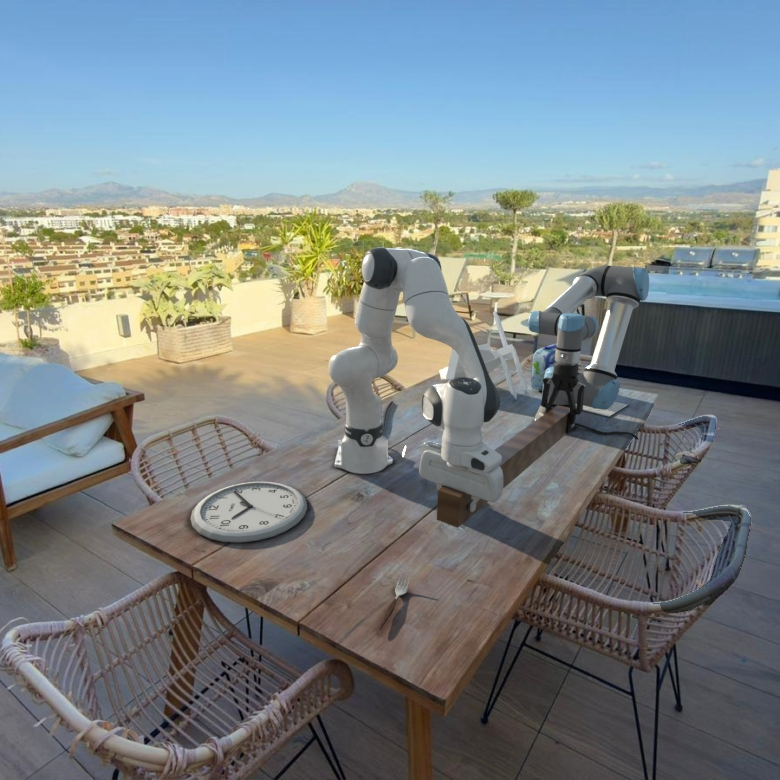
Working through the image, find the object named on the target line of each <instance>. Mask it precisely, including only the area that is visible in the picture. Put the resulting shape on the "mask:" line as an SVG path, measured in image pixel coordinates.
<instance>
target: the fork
mask: <svg viewBox="0 0 780 780" xmlns="http://www.w3.org/2000/svg"><path fill="white" fill-rule="evenodd" d="M402 574H403V572H402V571H401V573H400V575H399V577H398V581H397V584H396V586H395V588H394V593H395V597H394V599H393V600H392V601H391V602H390V604H389V605H388V607H387V609H386V611H385V614H384V615H383V618H382V620H381V621H382V622H381V624H380V626H379V631H381V629H382V628H383V627H384V625H385V623H386V622H387V621H388V619H389V618H390V617H391V615H392V613H393V611H394V610H395V606H396V603H397V601H398V598H399V597H400V596H403V595H406V594H407V592H408V590H409V586H410V582H411V578H412V575H410V576H409V574H407V575H406V573H404V574H403V577H402ZM405 575H406V578H405ZM408 576H409V579H408ZM401 578H402V579H401Z"/></svg>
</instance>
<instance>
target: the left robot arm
mask: <svg viewBox="0 0 780 780" xmlns="http://www.w3.org/2000/svg"><path fill="white" fill-rule="evenodd" d="M442 269H443V268H442V264H441V261H440V259H439V257H437V256H436V255H434V254H432V253H430V252H427V251H419V250H416V249H410V248H392V247H391V248H386V247H384V246H381V247H373V248H370V249H368V250H367V251H366V253H365V254H364V255H363V257H362V260H361V266H360V273H361V278H362V280H363V284H362V286H361V290H360V293H359V299H358V303H357V307H356V312H355V317H354V327H355V329H356V330H357V331H358V332H359V333H360V342H359V344H358V345H357V346H353V347H348V348H344V349H343V350H341V351H339V352H337V353H336V354H334V355H332V356H331V357H330V359H329V361H328V365H327V369H328V371H327V372H328V375H329V377H330V379H331V381H332V382H333V383H334V384H336V385H337V386H338V387H339V388H340V389H341V391H342V394H343V396H344V400H345V401H344V402H345V415H346V418H345V419H346V421H345V423H344V435H343V437H342V439H338V440H337V451H336V456H335V460H334V465H333V466H334V467H335V468H337V469H341V470H345V471H346V472H349V473H352V474H359V475H360V474H361V475H365V474H367V475H368V474H374V473H378V472H381V471H383V470H384V469H385V468H386V467H387V466H389V465H392V464H393V463H394V459H393V458H392V457H391V456H390V455H389V446H388V445H389V443H388V439H387V438H386V437H385V436H384V431H385V427H386V423H387V415H388V413H389V412H388V411H389V409H390V407H391V406H392V405H393V404H394V401H393V400H391V401H390V402H389V404H388V405H387V407H386V408H385V411H384V415H383V401H382V398H381V396H379V395H378V394H377V393H375V392H374V389H373V380H376V379H379V378H382V377H384V376H386V375H388V374H389V373H391V371H393V370H394V369H395V368H396V367H397V364H398V360H399V358H398V352H397V350H396V348H395V347H394V346H393V344H392V343H393V342H392V331H393V326H394V321H395V317H396V313H397V309H398V305H399V299H400V295H401V293H402V296H403V297H402V298H403V303H404V310H405V315H406V319H407V321H408V324H409V326H410V327H411V329H412V330H413V331H414V332H416V333H417V334H418V335H420V336H422V337H424V338H426V339H430V340H433V341H437V342H440V343H442V344H444V345H446V346H449V347H450V348H451V349H452V348H453V349H454V350H455V351H456V352H457V354H458V356H459V358H460V361H461V364H462V366H463V369H464V372H465V374H466V377H456V378H453V379H451V380H449V381H448V383H444V382H443V383H437V384H432V385H430V386H429V387H427V389H425V391H424V393H423V395H422V399H421V412H422V416H423V417H424V418H425V419H426V420H427V421H428V422H429V423H430V424H432V425H433V426H435V427H440V428H442V431H443V432H442V436H441V443H439V442H438V443H437V442H434V441H431V440H427V441H424V442H423V443H422V445H421V457H420V461H419V468H418V475H419V476H420V477H421V479H424V480H427V481H429V482H432V483H436V485H435V486H436V490H437V491H438V490H439V489H440V488H441V487H443V486H444V485H445V486H447V487H450V488H453V489H456V490H459V491H462V492H465V493H466V494H469V495H472V497H471V499H474V500H473V501H470V502H469V503H467V510H468V511H470V512H473V511H475V509H476V503H477V502H478V501H479V499H483V500H486V501H488V503H496V501H498V500H499V499H500V498H501V497H502V496H503V493H504V488H503V471H502V469H501V467H500V466H499V464H500V463H501V462H502V456H501V455H500V454H499V453H497V452H496V451H494V450H495V449H493V448H491V447H490V446H489V445H487V444H485V443H484V442H483V435H482V427H483V424H484V423H488V422H491V421H492V419H493V418H494V417H495V416H496V415H497V414H498V412H499V409H500V407H501V397H500V393H499V391H498V388H497V387H496V385H495V384H494V382H493V379H492V378H491V377H490V373H489V374H488V371H487V369H486V366H485V363H484V361H483V358H482V356H481V353H480V350H479V348H478V343H477V340H476V338H475V335H474V333H473V331H472V328H471V326H470V324H469V322H468V321H467V320H466V319H464V318H462V317H461V315H460V314H459V313H458V312H457V311H456V310H455V308H454V306H453V304H452V302H451V299H450V294H449V290H448V286H447V283H446V279H445V276H444V275H443V272H442ZM406 449H407V445H405V446H404V448H403V450H402V454H401V456H402V458H404V457H405V454H406V453H405V452H406Z"/></svg>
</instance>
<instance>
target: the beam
mask: <svg viewBox="0 0 780 780" xmlns="http://www.w3.org/2000/svg"><path fill="white" fill-rule="evenodd" d="M568 414H570V408H568V407H564V406H559V405H557V406H556V407H554V408H553V409H551V410H550V411H549V412H547V413H546V414H544V415H543V416H542V417H540V418H539V419H537V420H536V421H535V420H534V421H535V422H534V421H533V422H532V423H530V424H529V425H527V426H526V427H524V428H523V429H522V430H521V431H519V432H518V433H516V434H515V435H513V436H512V437H511V438H509V439H508V440H506V441H505V442H503V443H502V444H500V445H499V446H498V447H496V448H495V449H493V450H494V451H496V452H497V453H499V454H500V455H501V456H502V462H501V463H500V464H499V466H500V467H501V469H502V471H503V489H505V488H506V487H507V486H509V484H511V483H512V482H513V481H514V480H516V478H518V477H519V476H520V475H521V474H522V473H523V472H524V471H525V470H527V469H528V468H529V467H531V466H532V465H533V464H534V463H535V462H536V461H537V460H539V459H540V458H541V457H542V456H543V455H544V454H545V453H546V452H548V451H549V450H550V449H551V448H552V447H553V446H555V444H557V443H558V442H560V440H562V439H563V438H564V437H565V436H566V435H567V434H566V427H567V418H568ZM571 428H572V426H571ZM471 497H472V495H469V494H466V493H465V492H462V491H459V490H456V489H453V488H450V487H447V486H445V485H444V486H443V487H441V488H440V489H439V490H438V489H437V502H436V503H437V505H436V521H439V522H441V523H444V524H446V525H450V526H451V527H455V528H456V529H459V528H460V527H461V526H462V525H464V523H465V522H466V521H468V520H469V519H470V518H471V517H472V516H473V515H475V514H477V512H479V510H480V509H482V508H483V507H484V506H485V505H486V504H488V503H489V501H486V500H483V499H479V501H478V502H477V503H476V509H475V511H473V512H470V511H468V510H467V503H469V502H470V501H473V500H474V499H471Z"/></svg>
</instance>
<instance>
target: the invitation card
mask: <svg viewBox="0 0 780 780" xmlns="http://www.w3.org/2000/svg"><path fill="white" fill-rule="evenodd" d="M628 406H629V404H627V403H623V402H618V401H615V402H614V403H613V405H612V406H611V407H610V408H608V409H606V410H602V409H594V408H592V407H588V406H584V405H583V411H584V412H587V413H593V414H596V415H600V416H604V417H608V418H609V417H611V416H613V415H614V414H616V413H617V412H619V411H621V410H623V409H624V408H626V407H628ZM576 409H577V405H576Z"/></svg>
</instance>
